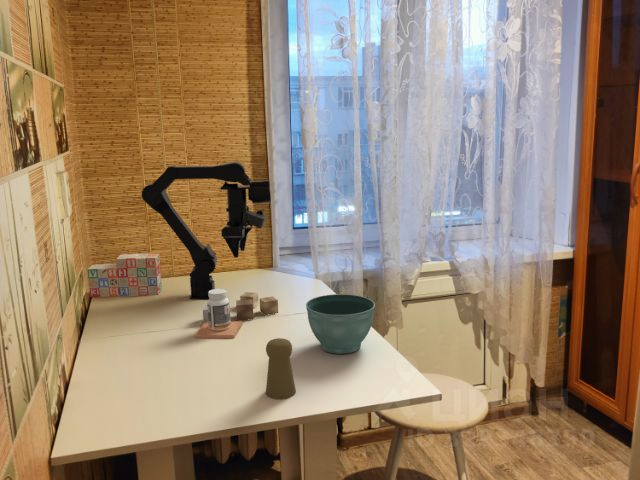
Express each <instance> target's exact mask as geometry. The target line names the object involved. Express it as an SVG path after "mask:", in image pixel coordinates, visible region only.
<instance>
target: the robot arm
mask: <svg viewBox="0 0 640 480" xmlns="http://www.w3.org/2000/svg"><path fill="white" fill-rule="evenodd" d="M203 179H204V180H207V179H208V180H209V179H211V180H212V179H213V180H218V181H219V180H220V181H224V183H223V184H222V185H221V186H220V188H219V189H220V190H221V191H225V190H226V198H227V199H226V200H227V201H226V202H227V207H226V208H225V210H226V212H227V216H228V220H227V221H226V225H225V226H223V228H222V229H221V230H220V231H221V233H220V234H221V238H222V239H223V240H225V242H226V244H227V246H228V248H229V249H230V252H231V253H232V255H233V258H239V256H240V255H239V254H240V251H241V252H244V251H245V249H246V243H247V240H248V239H247V238H248V235H249V232H251V231H252V230H253V227H256V228H257V229H263V227H264V226H265V222H266V219H267V216H266V215H265V212H264V210H261V209H259V210H257V211H256V212H255V211H250V207H249V205H248V203H247V195H248V201H250V202H251V203H252V204H267V203H268V204H271V199H272V198H271V190H270V180H269V179H267V180H257V181H256V180H255V181H253V180H252V179H251V177H249V176H248V174H247V173H246V168H245V166H244V164H242V162H240V161H231V162H226V163H221V164H217V165H216V164H215V165H193V166H192V165H190V166H189V165H183V166H182V165H180V166H178V165H170V166H168V167H167V168H166V169H165V170H164V172H163V173H162V174H161V175H160V176H159V177H157V179H156V180H155V181H154V182H151V183H150V184H147V185H146V186H144V187H143V189H142V191H141V198H142V200H143V201H144V202H145V203H146V204H147V205H148V206H149V207H150V208H151V209H152V210H153V211H155V212H156V213H158V214H160V216H161V217H162V218H163V220H164V221H165V222H166V223H167V224H168V226H169V227H170V228H171V230H172V232H173V233H174V234H175V235H176V236H177V238H178V239H179V240H180V242H181V243H182V244H183V246H184V247H185V248H186V249H187V251H188V252H189V256H190V258H191V260H192V262H193V264H194V266H193V267H192V269H191V271H190V273H189V284H190V295H189V299H191V300H197V299H198V300H206V299H207V300H209V299H210V298H209V296H208V292H209V291H210V290H213V289H216V286H215V285H216V284H215V279H213V275H210V274H212V273H214V270H215V269H216V266H217V264H218V258H217V252H215V251H214V250H213V249H212V247H211V245H210V244H209V243H208V244H206V245H204V244H203V243H201V241H199V240H198V238H197V237H196V235H195V234H194V233H193V232H192V230H191V229H190V227H188V225H187V224H186V222H185V221H184V220H183V218H182V217H181V216H180V214H179V213H178V212H177V210H176V209H175V208H174V206H173V205H172V202H171V199H170V197H169V195H168V193H167V189H168V188H169V187H170V186H171V185H172V184H173V183H174V181H175V180H203ZM229 182H230V183H229ZM239 184H241V186H239Z"/></svg>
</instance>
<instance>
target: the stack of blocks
mask: <svg viewBox="0 0 640 480" xmlns="http://www.w3.org/2000/svg"><path fill="white" fill-rule="evenodd" d="M160 258H161V257H160V253H131V254H129V253H127V254H120V255H118V257H116V258H115V259H116V260H115V262H116V263H103V264H101V263H100V264H96V263H95V264H92V265H91V266H90V267H88V268H87V271H86V272H87V278H88V288H89V297H90V298H96V297H97V298H98V297H99V298H101V297H102V298H103V297H107V298H108V297H129V296H130V297H132V296H133V297H134V296H135V297H136V296H159V295H160V293H161V291H162V289H163V288H162V287H163V286H162V273H161V271H162V269H161V262H160V261H161V259H160Z"/></svg>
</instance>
